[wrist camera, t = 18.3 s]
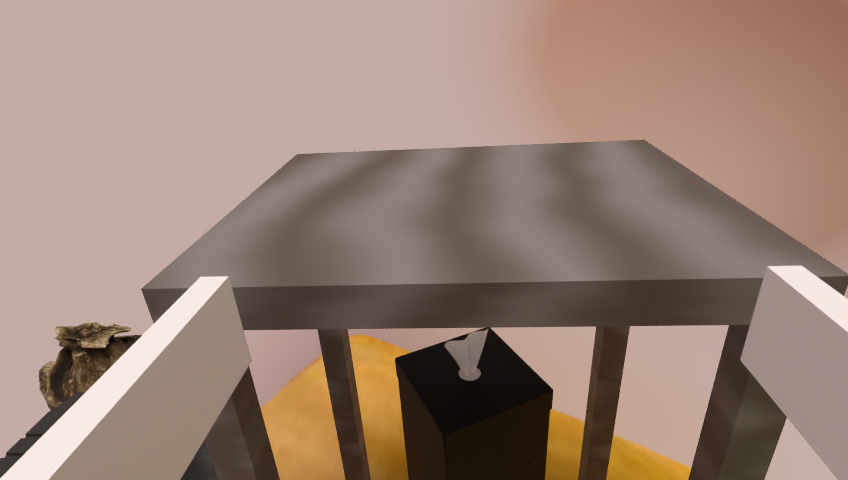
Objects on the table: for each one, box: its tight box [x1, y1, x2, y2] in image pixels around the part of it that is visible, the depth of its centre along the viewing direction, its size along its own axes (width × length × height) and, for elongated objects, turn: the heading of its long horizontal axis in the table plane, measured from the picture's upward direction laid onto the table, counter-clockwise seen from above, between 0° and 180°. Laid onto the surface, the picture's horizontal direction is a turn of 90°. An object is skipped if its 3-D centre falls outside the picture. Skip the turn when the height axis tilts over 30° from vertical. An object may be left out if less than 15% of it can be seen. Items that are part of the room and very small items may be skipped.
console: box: [141, 140, 848, 480], centre depth 34 cm, size 26×20×38 cm
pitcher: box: [39, 323, 219, 480], centre depth 38 cm, size 11×19×30 cm, turn 64°
